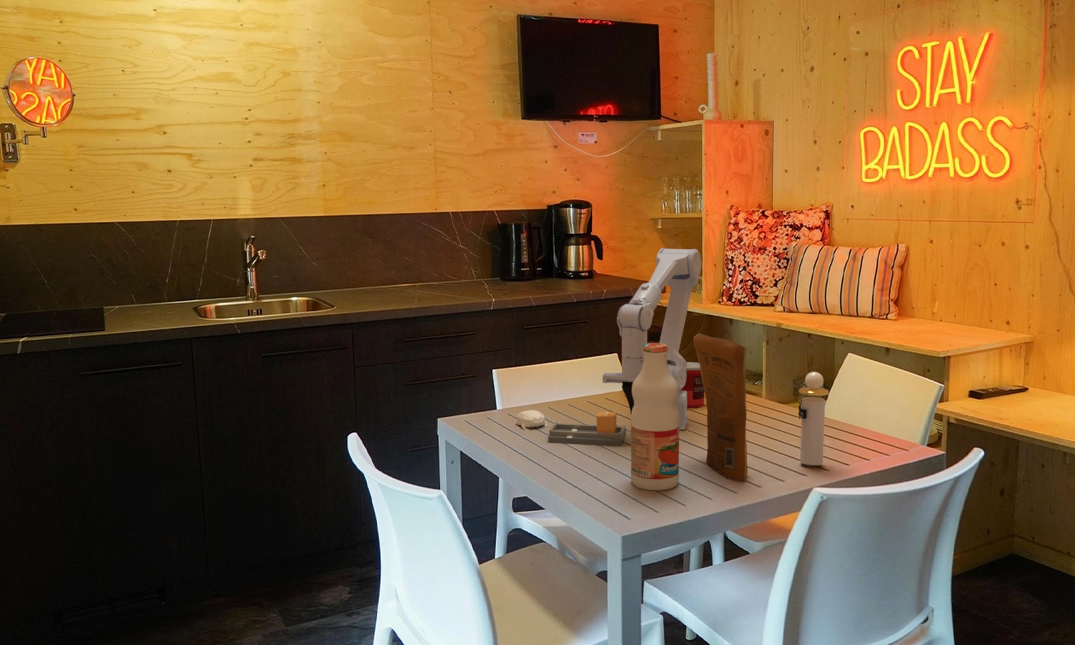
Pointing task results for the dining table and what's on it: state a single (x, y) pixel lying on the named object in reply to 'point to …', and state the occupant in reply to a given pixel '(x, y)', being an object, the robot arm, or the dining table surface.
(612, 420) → the fader tab
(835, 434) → the dining table surface
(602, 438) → the fader console
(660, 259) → the robot arm
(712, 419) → the pancake mix bag
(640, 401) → the fruit juice
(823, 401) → the perfume bottle
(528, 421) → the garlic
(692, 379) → the canned food
